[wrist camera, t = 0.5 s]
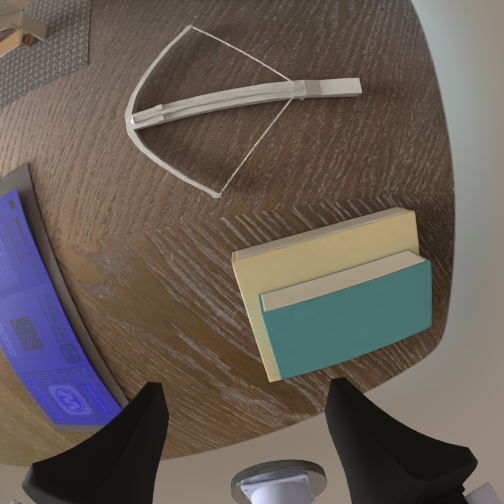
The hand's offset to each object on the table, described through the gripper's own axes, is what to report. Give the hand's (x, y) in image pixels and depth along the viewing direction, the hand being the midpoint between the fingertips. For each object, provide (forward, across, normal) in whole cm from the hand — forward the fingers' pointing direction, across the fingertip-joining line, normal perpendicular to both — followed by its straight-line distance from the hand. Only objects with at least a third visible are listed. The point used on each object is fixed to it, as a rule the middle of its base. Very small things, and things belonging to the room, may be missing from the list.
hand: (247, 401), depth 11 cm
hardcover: (+11, -7, 0) cm, 13 cm away
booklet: (+11, +21, +4) cm, 24 cm away
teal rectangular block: (+8, -7, 0) cm, 11 cm away
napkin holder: (+11, +20, -23) cm, 32 cm away
